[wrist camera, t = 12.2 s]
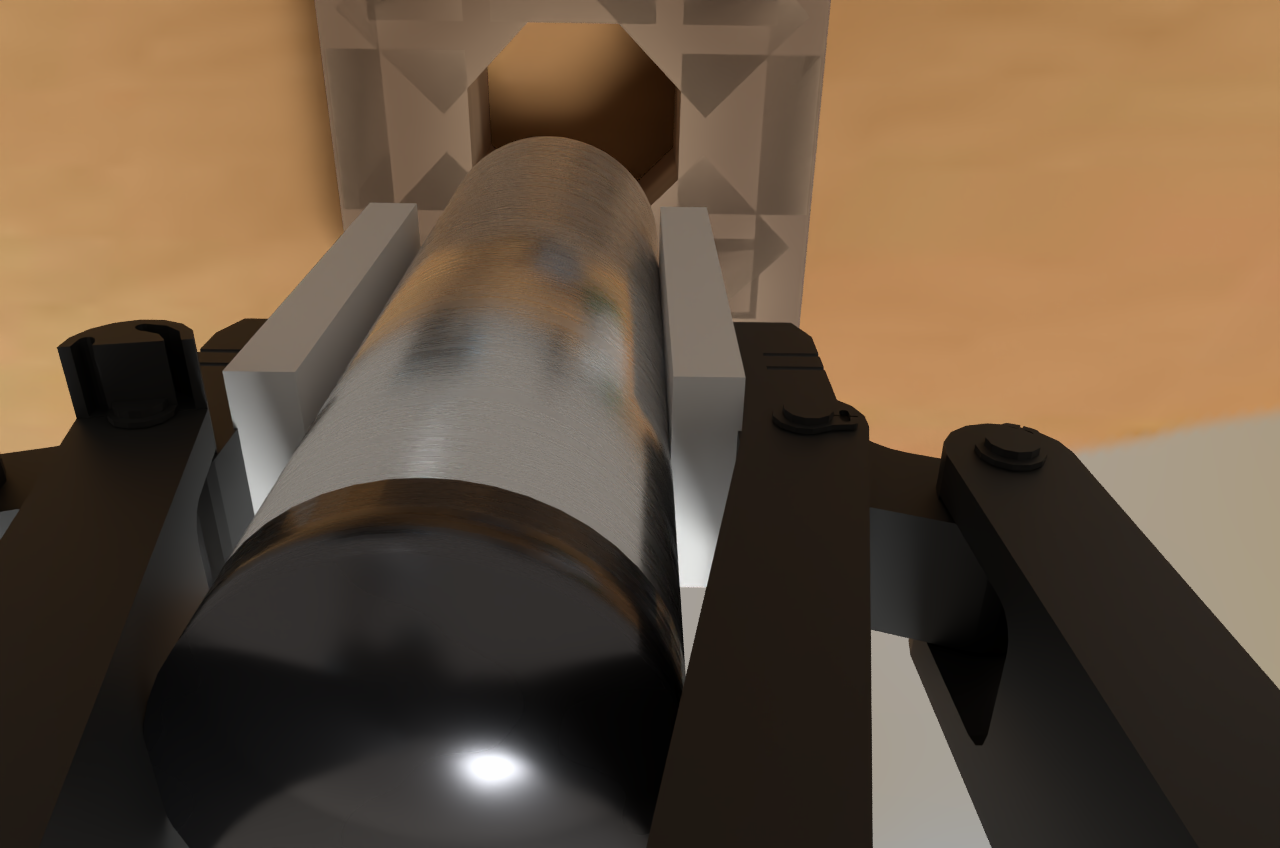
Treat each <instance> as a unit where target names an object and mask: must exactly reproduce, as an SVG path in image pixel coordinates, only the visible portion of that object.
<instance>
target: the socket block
mask: <svg viewBox="0 0 1280 848" xmlns="http://www.w3.org/2000/svg"><path fill="white" fill-rule="evenodd" d="M314 1H315V9H316V17H317V24H318V32H319V40H320V48H321V56H322V64H323V72H324V80H325V87H326V95H327V103H328V111H329V119H330V127H331V135H332V143H333V150H334V158H335V166H336V174H337V182H338V190H339V198H340V206H341V213H342V221H343V229H344V232H345V231H346V230H347V228H348V227H349V226H350V225H351V224H352V223H353V222H354V221H355V219H356V218H357V217H358V216H359V215H360V214H361V213H362V211H363V210H364V209H365V208H366V207H367V206H368V205H369V203H417V211H418V223H419V234H420V245H421V246H422V245H423V243H424V242H425V240H426V238H427V237H428V235H429V234H430V232H431V230H432V229H433V227H434V225H435V224H436V222H437V221H438V219H439V217H440V216H441V214H442V213H443V211H444V209H445V208H446V206H447V204H448V203H449V201H450V200H451V198H452V196H453V195H454V193H455V192H456V190H457V188H458V187H459V185H460V183H461V182H462V180H463V179H464V177H465V176H466V175H467V174H468V172H469V171H470V170H471V169H472V168H473V167H474V166H475V165H476V164H477V163H478V162H479V161H480V160H481V159H482V158H484V157H485V156H487V155H488V154H490V153H491V152H493V151H494V150H496V149H495V148H494V147H493V146H492V145H491V128H490V109H489V91H488V72H487V66H488V65H489V64H490V63H491V62H492V61H493V60H494V59H495V57H496V56H497V55H498V54H499V53H500V52H501V51H502V50H503V49H504V48H505V46H506V45H507V44H508V43H509V42H510V41H511V40H512V39H513V38H514V37H515V35H516V34H517V33H518V32H519V31H520V30H521V29H522V28H523V27H524V26H525V25H526V23H527V22H545V23H609V24H620V25H621V27H622V28H623V29H624V30H625V31H626V32H627V33H628V34H629V35H630V36H631V37H632V39H633V40H634V41H635V42H636V43H637V44H638V45H639V46H640V47H641V48H642V49H643V51H644V52H645V53H646V54H647V55H648V56H649V57H650V58H651V59H652V60H653V61H654V63H655V64H656V65H657V66H658V67H659V68H660V69H661V70H662V71H663V72H664V73H665V75H666V76H667V77H668V78H669V79H670V80H671V81H672V82H673V83H674V84H675V102H674V135H673V148H672V149H671V150H670V151H669V152H668V153H667V154H666V155H665V156H664V157H663V158H661V159H660V160H659V161H658V162H657V163H656V164H655V165H654V166H653V167H652V168H651V169H650V170H649V171H648V172H647V173H646V174H645V175H644V176H643V177H642V178H641V179H640V180H639V181H638V183H639V185H640V187H641V188H642V190H643V191H644V193H645V195H646V197H647V199H648V201H649V203H650V205H651V208H652V212H653V215H654V218H655V223H656V228H657V238H658V254H659V235H660V207H707V211H708V216H709V220H710V224H711V229H712V233H713V237H714V242H715V246H716V250H717V255H718V259H719V264H720V268H721V272H722V277H723V281H724V285H725V290H726V294H727V298H728V303H729V307H730V311H731V316H732V320H733V322H786V323H792V324H794V325H795V326H797V327H798V328H799V325H800V314H801V304H802V294H803V283H804V273H805V262H806V252H807V242H808V231H809V221H810V211H811V200H812V190H813V179H814V169H815V159H816V148H817V138H818V128H819V117H820V107H821V96H822V86H823V76H824V65H825V55H826V45H827V34H828V24H829V14H830V3H831V0H314Z"/></svg>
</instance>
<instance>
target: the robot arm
mask: <svg viewBox="0 0 1280 848" xmlns="http://www.w3.org/2000/svg"><path fill="white" fill-rule="evenodd" d="M420 248H421V245H420V234H419V223H418V211H417V203H369V205H368V206H367V207H366V208H365V209H364V210H363V211H362V213H361V214H360V215H359V216H358V217H357V218H356V219H355V221H354V222H353V223H352V224H351V225H350V226H349V227H348V228H347V230H346V231H345V232H344V233H343V234H342V235H341V236H340V238H339V239H338V240H337V241H336V242H335V243H334V244H333V246H332V247H331V248H330V249H329V250H328V251H327V252H326V254H325V255H324V256H323V257H322V258H321V259H320V260H319V262H318V263H317V264H316V265H315V266H314V267H313V268H312V270H311V271H310V272H309V273H308V274H307V275H306V276H305V278H304V279H303V280H302V281H301V282H300V283H299V284H298V286H297V287H296V288H295V289H294V290H293V291H292V292H291V294H290V295H289V296H288V297H287V298H286V299H285V300H284V301H283V303H282V304H281V305H280V306H279V307H278V308H277V309H276V311H275V312H274V313H273V314H272V315H271V316H270V317H269V319H243V320H241V321H239V322H237V323H235V324H233V325H231V326H229V327H227V328H225V329H223V330H220V331H218V332H216V333H215V334H214V335H213V336H212V337H211V338H210V340H209V341H208V342H207V343H206V344H205V345H204V346H203V347H202V348H201V349H200V352H197V349H196V344H195V339H194V334H193V330H192V329H190V328H188V327H187V326H185V325H184V324H182V323H177V322H172V321H167V320H134V321H126V322H118V323H112V324H108V325H104V326H100V327H96V328H92V329H89V330H86V331H84V332H82V333H79V334H77V335H74V336H72V337H70V338H68V339H67V340H66V341H64V342H63V343H62V344H61V345H59V346H58V347H57V349H58V353H59V356H60V360H61V363H62V367H63V371H64V374H65V378H66V381H67V385H68V389H69V392H70V396H71V399H72V403H73V407H74V410H75V414H76V417H77V419H76V421H75V422H74V424H73V425H72V427H71V429H70V430H69V432H68V433H67V435H66V436H65V438H64V440H63V441H62V443H61V444H60V446H55V447H49V448H42V449H34V450H27V451H20V452H13V453H6V454H0V848H189V847H188V845H187V844H186V843H185V842H184V840H183V839H182V838H181V836H180V835H179V834H178V833H177V831H176V830H175V829H174V827H173V826H172V824H171V822H170V821H169V819H168V817H167V815H166V812H165V809H164V805H163V802H162V799H161V795H160V792H159V788H158V785H157V781H156V778H155V775H154V771H153V768H152V764H151V761H150V757H149V754H148V751H147V747H146V744H145V740H144V720H145V714H146V708H147V702H148V698H149V695H150V692H151V690H152V687H153V684H154V682H155V679H156V676H157V674H158V672H159V670H160V669H161V667H162V665H163V664H164V662H165V660H166V659H167V657H168V655H169V654H170V652H171V650H172V649H173V647H174V646H175V644H176V642H177V641H178V639H179V638H180V636H181V634H182V633H183V631H184V629H185V628H186V626H187V625H188V623H189V621H190V620H191V618H192V616H193V615H194V613H195V612H196V610H197V608H198V607H199V605H200V604H201V602H202V600H203V599H204V597H205V595H206V594H207V592H208V591H209V589H210V587H211V586H212V584H213V583H214V581H215V579H216V578H217V576H218V574H219V573H220V571H221V570H222V568H223V566H224V565H225V563H226V562H227V560H228V558H229V557H230V555H231V553H232V552H233V550H234V549H235V547H236V545H237V544H238V542H239V541H240V539H241V537H242V536H243V534H244V532H245V531H246V529H247V528H248V526H249V524H250V523H251V521H252V520H253V518H254V516H255V515H256V513H257V511H258V510H259V508H260V507H261V505H262V503H263V502H264V500H265V499H266V497H267V495H268V494H269V492H270V490H271V489H272V487H273V486H274V484H275V482H276V481H277V479H278V478H279V476H280V474H281V473H282V471H283V469H284V468H285V466H286V465H287V463H288V461H289V460H290V458H291V457H292V455H293V453H294V452H295V450H296V448H297V447H298V445H299V444H300V442H301V440H302V439H303V437H304V436H305V434H306V432H307V431H308V429H309V427H310V426H311V424H312V423H313V421H314V419H315V418H316V416H317V415H318V413H319V411H320V410H321V408H322V406H323V405H324V403H325V402H326V400H327V398H328V397H329V395H330V393H331V392H332V390H333V389H334V387H335V385H336V384H337V382H338V381H339V379H340V377H341V376H342V374H343V372H344V371H345V369H346V368H347V366H348V364H349V363H350V361H351V360H352V358H353V356H354V355H355V353H356V351H357V350H358V348H359V347H360V345H361V343H362V342H363V340H364V339H365V337H366V335H367V334H368V332H369V330H370V329H371V327H372V326H373V324H374V322H375V321H376V319H377V318H378V316H379V314H380V313H381V311H382V309H383V308H384V306H385V305H386V303H387V301H388V300H389V298H390V297H391V295H392V293H393V292H394V290H395V288H396V287H397V285H398V284H399V282H400V280H401V279H402V277H403V276H404V274H405V272H406V271H407V269H408V267H409V266H410V264H411V263H412V261H413V259H414V258H415V256H416V255H417V253H418V251H419V250H420ZM659 281H660V297H661V313H662V329H663V346H664V362H665V378H666V394H667V410H668V427H669V443H670V459H671V466H672V472H673V487H674V503H675V519H676V534H677V550H678V565H679V581H680V587H706V591H705V596H704V600H703V604H702V609H701V613H700V617H699V622H698V626H697V630H696V635H695V639H694V643H693V648H692V652H691V656H690V661H689V665H688V669H687V674H686V678H685V682H684V686H683V691H682V695H681V699H680V704H679V708H678V712H677V717H676V721H675V725H674V730H673V734H672V738H671V743H670V747H669V751H668V756H667V760H666V764H665V769H664V773H663V777H662V782H661V786H660V790H659V795H658V799H657V803H656V808H655V812H654V816H653V820H652V825H651V829H650V833H649V838H648V842H647V846H646V848H873V839H872V837H873V833H872V720H871V719H872V718H871V630H875V631H880V632H884V633H888V634H893V635H897V636H902V637H907V638H909V648H910V655H911V657H912V660H913V662H914V664H915V667H916V669H917V671H918V674H919V676H920V679H921V681H922V684H923V686H924V688H925V690H926V693H927V695H928V698H929V700H930V702H931V705H932V707H933V710H934V712H935V714H936V717H937V719H938V721H939V724H940V726H941V729H942V731H943V733H944V736H945V738H946V740H947V743H948V745H949V748H950V750H951V752H952V755H953V757H954V759H955V762H956V764H957V767H958V769H959V771H960V774H961V776H962V778H963V781H964V783H965V785H966V788H967V790H968V793H969V795H970V797H971V800H972V802H973V804H974V807H975V809H976V811H977V814H978V816H979V818H980V821H981V823H982V826H983V828H984V831H985V833H986V835H987V838H988V840H989V842H990V845H991V847H992V848H1280V690H1279V689H1278V688H1277V686H1276V685H1275V684H1274V683H1273V682H1272V681H1271V679H1270V678H1269V677H1268V676H1267V675H1266V674H1265V673H1264V671H1263V670H1262V669H1261V668H1260V667H1259V666H1258V664H1257V663H1256V662H1255V661H1254V660H1253V659H1252V658H1251V656H1250V655H1249V654H1248V653H1247V652H1246V651H1245V649H1244V648H1243V647H1242V646H1241V645H1240V644H1239V643H1238V641H1237V640H1236V639H1235V638H1234V637H1233V636H1232V635H1231V633H1230V632H1229V631H1228V630H1227V629H1226V628H1225V626H1224V625H1223V624H1222V623H1221V622H1220V621H1219V620H1218V618H1217V617H1216V616H1215V615H1214V614H1213V613H1212V612H1211V610H1210V609H1209V608H1208V607H1207V606H1206V605H1205V604H1204V602H1203V601H1202V600H1201V599H1200V598H1199V597H1198V596H1197V595H1196V593H1195V592H1194V591H1193V590H1192V589H1191V587H1189V585H1188V584H1187V583H1186V582H1185V581H1184V579H1183V578H1182V577H1181V576H1180V575H1179V574H1178V573H1177V571H1176V570H1175V569H1174V568H1173V567H1172V566H1171V564H1170V563H1169V562H1168V561H1167V560H1166V559H1165V558H1164V556H1163V555H1162V554H1161V553H1160V552H1159V551H1158V550H1157V548H1156V547H1155V546H1154V545H1153V544H1152V543H1151V542H1150V540H1149V539H1148V538H1147V537H1146V536H1145V535H1144V534H1143V532H1142V531H1141V530H1140V529H1139V528H1138V527H1137V525H1136V524H1135V523H1134V522H1133V521H1132V520H1131V518H1130V517H1129V516H1128V515H1127V514H1126V513H1125V512H1124V510H1123V509H1122V508H1121V507H1120V506H1119V505H1118V504H1117V502H1116V501H1115V500H1114V499H1113V498H1112V497H1111V496H1110V495H1109V493H1108V492H1107V491H1106V490H1105V489H1104V487H1102V485H1101V484H1100V483H1099V482H1098V481H1097V480H1096V478H1095V477H1094V476H1093V475H1092V474H1091V473H1090V471H1089V470H1088V469H1087V468H1086V467H1085V466H1084V464H1083V463H1082V462H1081V461H1080V460H1079V459H1078V458H1077V456H1076V455H1075V454H1074V453H1073V452H1072V451H1070V450H1069V449H1068V448H1067V447H1065V446H1064V445H1063V444H1061V443H1060V442H1059V441H1057V440H1055V439H1053V438H1050V437H1048V436H1046V435H1044V434H1041V433H1039V432H1038V431H1037V430H1035V429H1032V428H1028V427H1025V426H1023V428H1021V427H1020V425H1016V424H1010V423H1004V424H1002V425H1000V424H988V423H987V424H978V425H969V426H965V427H962V428H960V429H957V430H955V431H953V432H951V433H950V434H949V436H948V437H947V438H946V440H945V441H944V444H943V450H942V456H941V459H940V458H934V457H929V456H923V455H917V454H911V453H906V452H902V451H898V450H894V449H890V448H887V447H884V446H881V445H879V444H876V443H873V442H871V441H869V425H868V423H867V421H866V419H865V416H864V415H863V414H861V413H860V412H859V411H857V410H856V409H855V408H853V407H852V406H850V405H848V404H845V403H843V402H840V401H838V400H837V399H836V397H835V394H834V392H833V389H832V387H831V384H830V382H829V379H828V377H827V374H826V372H825V370H823V368H824V367H823V364H822V362H821V359H820V357H818V352H817V349H816V347H815V344H814V342H813V339H812V337H811V336H809V335H808V334H807V333H805V332H804V331H802V330H801V329H799V328H798V327H797V326H795V325H794V324H792V323H786V322H733V320H732V316H731V311H730V307H729V303H728V298H727V294H726V290H725V285H724V281H723V277H722V272H721V268H720V264H719V259H718V255H717V250H716V246H715V242H714V237H713V233H712V229H711V224H710V220H709V216H708V211H707V207H660V235H659Z"/></svg>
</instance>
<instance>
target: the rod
mask: <svg viewBox="0 0 1280 848" xmlns="http://www.w3.org/2000/svg"><path fill="white" fill-rule="evenodd" d="M685 678H686V675H685V660H684V643H683V628H682V613H681V597H680V581H679V565H678V550H677V534H676V519H675V503H674V487H673V472H672V466H671V459H670V443H669V427H668V410H667V394H666V378H665V362H664V346H663V329H662V313H661V297H660V281H659V254H658V238H657V228H656V223H655V218H654V215H653V212H652V208H651V205H650V203H649V201H648V199H647V197H646V195H645V193H644V191H643V190H642V188H641V187H640V185H639V183H638V182H637V180H636V179H635V178H634V177H633V176H632V175H631V173H630V172H629V171H628V170H627V169H626V168H625V167H624V166H623V165H622V164H620V163H619V162H618V161H617V160H616V159H614V158H613V157H611V156H610V155H608V154H607V153H606V152H604V151H602V150H600V149H598V148H596V147H594V146H592V145H590V144H587V143H584V142H581V141H578V140H574V139H569V138H565V137H555V136H541V137H531V138H526V139H521V140H517V141H514V142H512V143H509V144H506V145H504V146H502V147H500V148H498V149H496V150H494V151H493V152H491V153H490V154H488V155H487V156H485V157H484V158H482V159H481V160H480V161H479V162H478V163H477V164H476V165H475V166H474V167H473V168H472V169H471V170H470V171H469V172H468V174H467V175H466V176H465V177H464V179H463V180H462V182H461V183H460V185H459V187H458V188H457V190H456V192H455V193H454V195H453V196H452V198H451V200H450V201H449V203H448V204H447V206H446V208H445V209H444V211H443V213H442V214H441V216H440V217H439V219H438V221H437V222H436V224H435V225H434V227H433V229H432V230H431V232H430V234H429V235H428V237H427V238H426V240H425V242H424V243H423V245H422V246H421V248H420V250H419V251H418V253H417V255H416V256H415V258H414V259H413V261H412V263H411V264H410V266H409V267H408V269H407V271H406V272H405V274H404V276H403V277H402V279H401V280H400V282H399V284H398V285H397V287H396V288H395V290H394V292H393V293H392V295H391V297H390V298H389V300H388V301H387V303H386V305H385V306H384V308H383V309H382V311H381V313H380V314H379V316H378V318H377V319H376V321H375V322H374V324H373V326H372V327H371V329H370V330H369V332H368V334H367V335H366V337H365V339H364V340H363V342H362V343H361V345H360V347H359V348H358V350H357V351H356V353H355V355H354V356H353V358H352V360H351V361H350V363H349V364H348V366H347V368H346V369H345V371H344V372H343V374H342V376H341V377H340V379H339V381H338V382H337V384H336V385H335V387H334V389H333V390H332V392H331V393H330V395H329V397H328V398H327V400H326V402H325V403H324V405H323V406H322V408H321V410H320V411H319V413H318V415H317V416H316V418H315V419H314V421H313V423H312V424H311V426H310V427H309V429H308V431H307V432H306V434H305V436H304V437H303V439H302V440H301V442H300V444H299V445H298V447H297V448H296V450H295V452H294V453H293V455H292V457H291V458H290V460H289V461H288V463H287V465H286V466H285V468H284V469H283V471H282V473H281V474H280V476H279V478H278V479H277V481H276V482H275V484H274V486H273V487H272V489H271V490H270V492H269V494H268V495H267V497H266V499H265V500H264V502H263V503H262V505H261V507H260V508H259V510H258V511H257V513H256V515H255V516H254V518H253V520H252V521H251V523H250V524H249V526H248V528H247V529H246V531H245V532H244V534H243V536H242V537H241V539H240V541H239V542H238V544H237V545H236V547H235V549H234V550H233V552H232V553H231V555H230V557H229V558H228V560H227V562H226V563H225V565H224V566H223V568H222V570H221V571H220V573H219V574H218V576H217V578H216V579H215V581H214V583H213V584H212V586H211V587H210V589H209V591H208V592H207V594H206V595H205V597H204V599H203V600H202V602H201V604H200V605H199V607H198V608H197V610H196V612H195V613H194V615H193V616H192V618H191V620H190V621H189V623H188V625H187V626H186V628H185V629H184V631H183V633H182V634H181V636H180V638H179V639H178V641H177V642H176V644H175V646H174V647H173V649H172V650H171V652H170V654H169V655H168V657H167V659H166V660H165V662H164V664H163V665H162V667H161V669H160V670H159V672H158V674H157V676H156V679H155V682H154V684H153V687H152V690H151V692H150V695H149V698H148V702H147V708H146V714H145V720H144V740H145V744H146V747H147V751H148V754H149V757H150V761H151V764H152V768H153V771H154V775H155V778H156V781H157V785H158V788H159V792H160V795H161V799H162V802H163V805H164V809H165V812H166V815H167V817H168V819H169V821H170V822H171V824H172V826H173V827H174V829H175V830H176V831H177V833H178V834H179V835H180V836H181V838H182V839H183V840H184V842H185V843H186V844H187V845H188V847H189V848H646V846H647V842H648V838H649V833H650V829H651V825H652V820H653V816H654V812H655V808H656V803H657V799H658V795H659V790H660V786H661V782H662V777H663V773H664V769H665V764H666V760H667V756H668V751H669V747H670V743H671V738H672V734H673V730H674V725H675V721H676V717H677V712H678V708H679V704H680V699H681V695H682V691H683V686H684V682H685Z"/></svg>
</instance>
